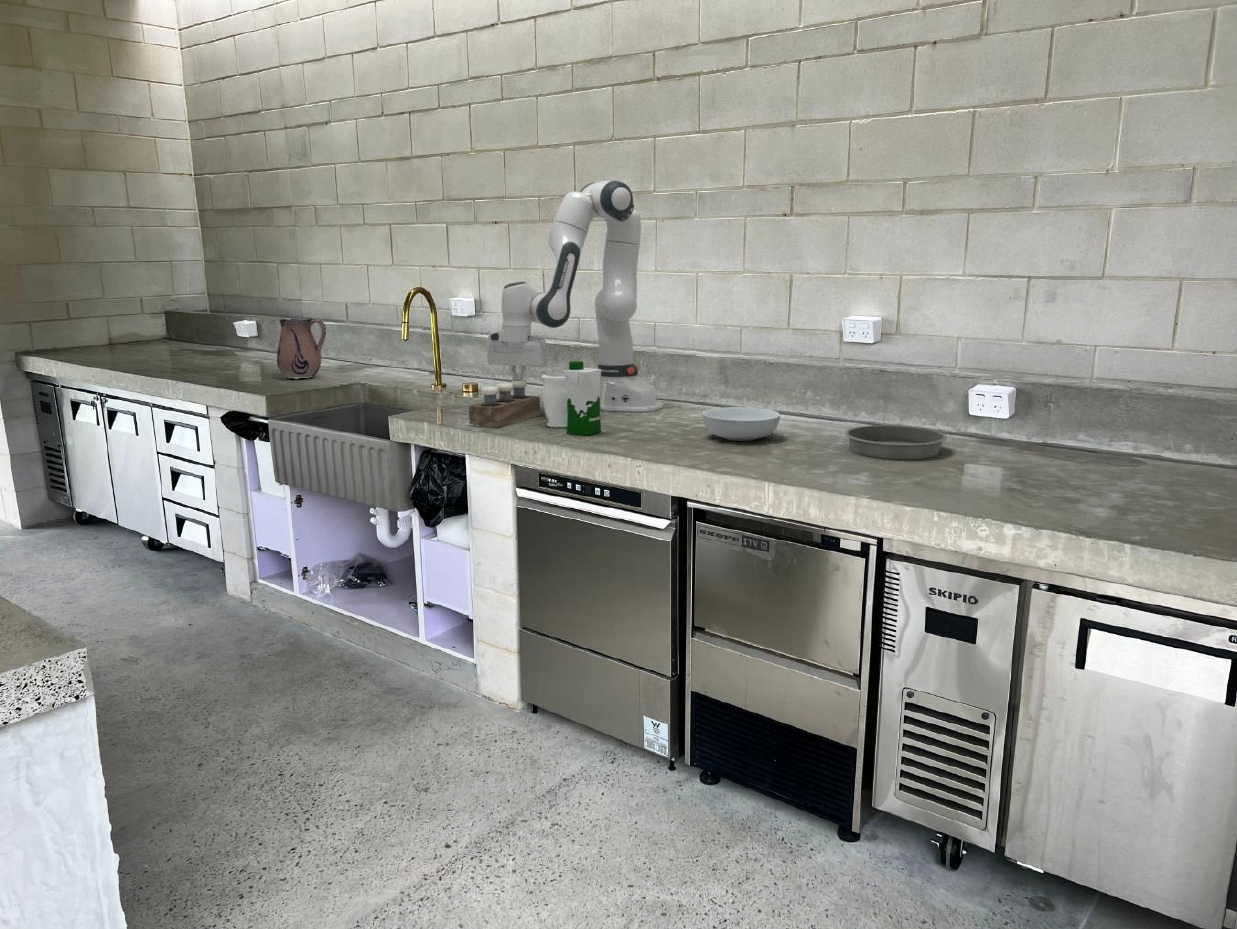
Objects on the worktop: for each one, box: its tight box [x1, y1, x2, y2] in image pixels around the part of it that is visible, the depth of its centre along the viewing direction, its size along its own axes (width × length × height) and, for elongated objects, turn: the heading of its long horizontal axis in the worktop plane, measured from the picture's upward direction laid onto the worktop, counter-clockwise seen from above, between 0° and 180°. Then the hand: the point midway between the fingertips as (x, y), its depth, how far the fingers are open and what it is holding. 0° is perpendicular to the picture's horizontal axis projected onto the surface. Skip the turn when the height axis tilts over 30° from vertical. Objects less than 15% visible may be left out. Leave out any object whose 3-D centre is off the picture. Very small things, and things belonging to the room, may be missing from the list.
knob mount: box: [468, 394, 541, 429], centre depth 284 cm, size 10×24×6 cm, turn 154°
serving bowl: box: [701, 406, 781, 442], centre depth 252 cm, size 21×21×7 cm
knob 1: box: [481, 385, 499, 407], centre depth 276 cm, size 5×5×6 cm
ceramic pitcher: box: [276, 317, 327, 378], centre depth 390 cm, size 18×21×25 cm
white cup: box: [541, 372, 567, 428], centre depth 273 cm, size 11×10×15 cm
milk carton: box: [563, 360, 602, 437], centre depth 261 cm, size 9×9×20 cm
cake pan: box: [844, 424, 948, 460], centre depth 234 cm, size 25×25×4 cm
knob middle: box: [496, 382, 513, 403], centre depth 283 cm, size 5×5×6 cm
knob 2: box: [510, 379, 527, 399], centre depth 290 cm, size 5×5×6 cm
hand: (517, 380), depth 289 cm, fingers closed
